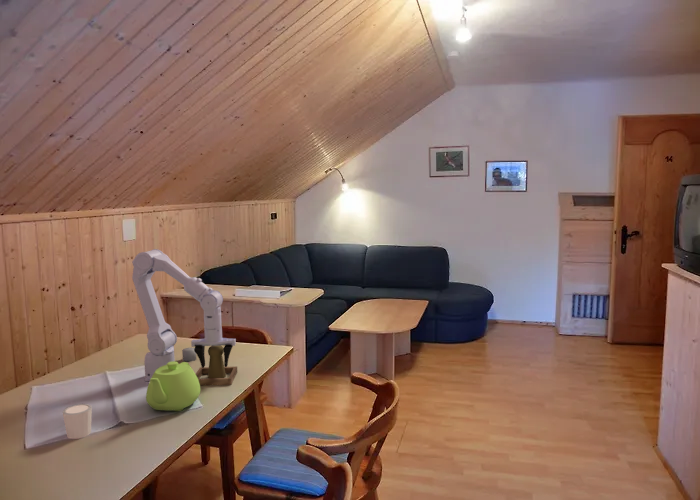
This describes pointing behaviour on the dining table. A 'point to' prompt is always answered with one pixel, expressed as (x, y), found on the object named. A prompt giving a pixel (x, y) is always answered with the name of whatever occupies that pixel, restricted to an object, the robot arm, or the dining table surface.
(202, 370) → the walnut collar block
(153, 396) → the teapot
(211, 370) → the cork
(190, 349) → the grey rounded piece
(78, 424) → the white cylinder
